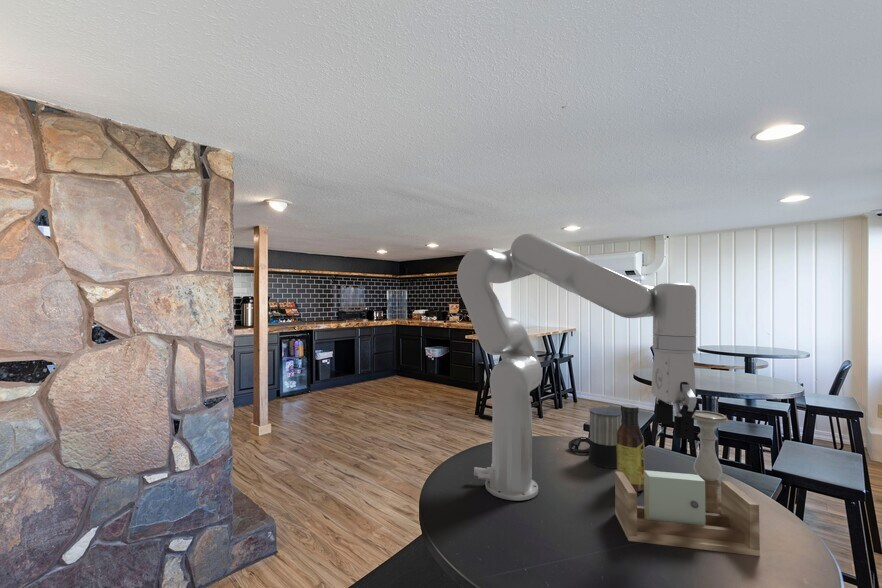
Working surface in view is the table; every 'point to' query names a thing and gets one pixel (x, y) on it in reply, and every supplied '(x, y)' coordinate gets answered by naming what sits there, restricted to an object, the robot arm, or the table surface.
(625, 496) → the track
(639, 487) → the sauce bottle
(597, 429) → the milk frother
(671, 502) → the rectangular block
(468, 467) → the table surface
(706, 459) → the candle holder
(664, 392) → the robot arm
